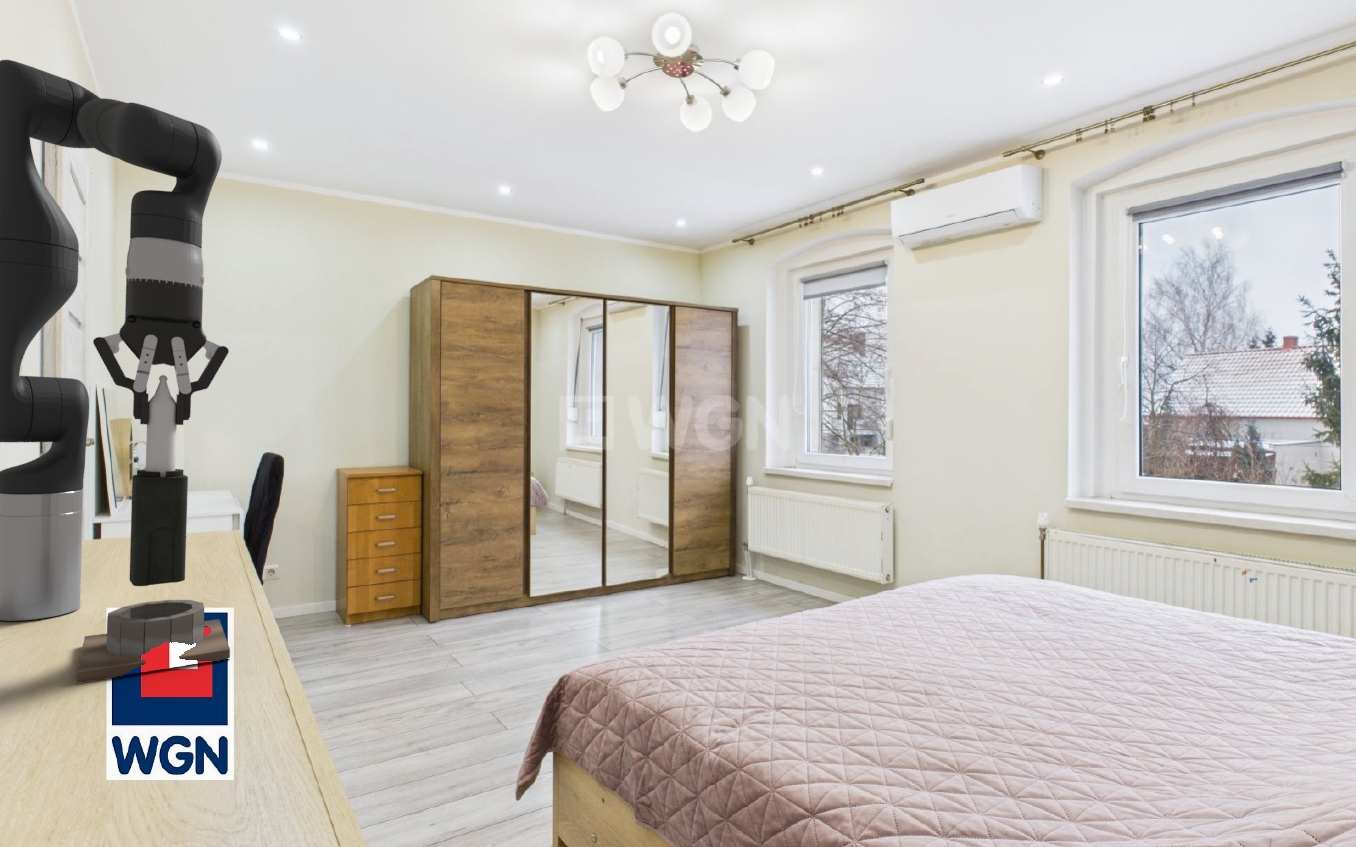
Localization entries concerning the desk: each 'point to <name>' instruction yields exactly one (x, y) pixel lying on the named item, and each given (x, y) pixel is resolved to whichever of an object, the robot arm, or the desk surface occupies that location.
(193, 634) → the holder
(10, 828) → the desk surface
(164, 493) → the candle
